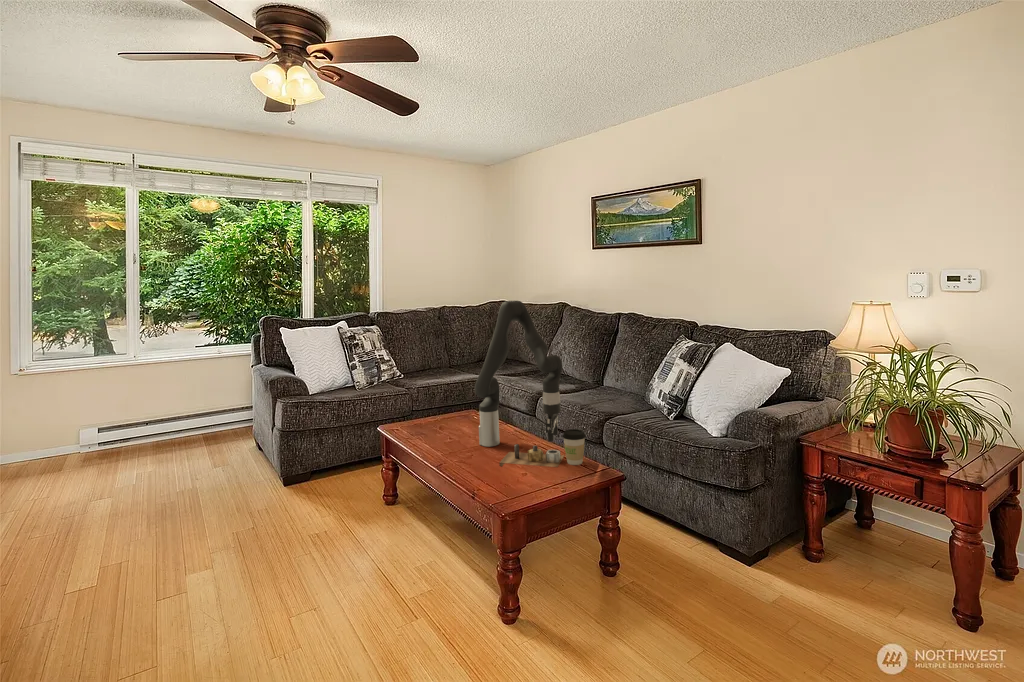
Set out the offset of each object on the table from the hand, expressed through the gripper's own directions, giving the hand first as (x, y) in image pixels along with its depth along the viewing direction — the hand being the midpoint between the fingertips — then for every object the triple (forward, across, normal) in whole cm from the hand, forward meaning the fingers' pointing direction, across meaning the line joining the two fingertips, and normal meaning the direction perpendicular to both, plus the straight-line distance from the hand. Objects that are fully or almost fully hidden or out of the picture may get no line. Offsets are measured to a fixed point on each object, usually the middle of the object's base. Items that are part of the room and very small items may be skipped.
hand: (553, 438), depth 229 cm
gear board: (+12, 0, -10) cm, 15 cm away
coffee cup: (+12, 0, +9) cm, 15 cm away
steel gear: (+10, 0, 0) cm, 10 cm away
